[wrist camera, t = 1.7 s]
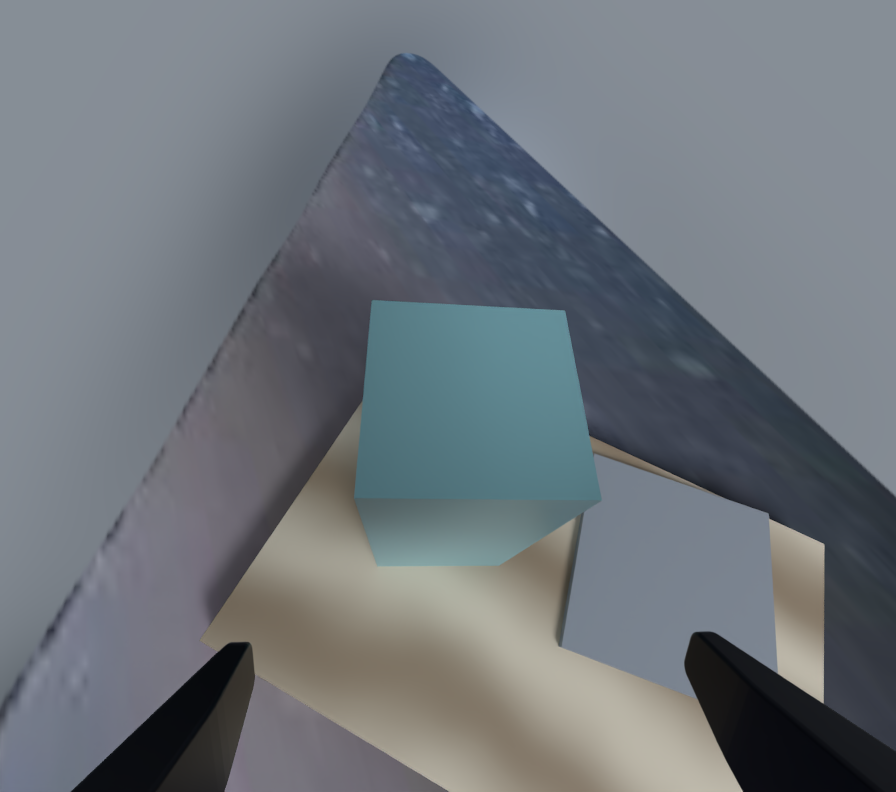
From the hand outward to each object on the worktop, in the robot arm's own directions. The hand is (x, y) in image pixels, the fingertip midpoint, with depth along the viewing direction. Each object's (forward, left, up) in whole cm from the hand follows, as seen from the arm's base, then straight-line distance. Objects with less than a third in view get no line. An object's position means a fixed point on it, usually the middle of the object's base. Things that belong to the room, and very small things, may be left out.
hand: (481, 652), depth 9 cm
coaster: (+7, -9, -10) cm, 15 cm away
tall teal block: (+5, +2, -10) cm, 11 cm away
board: (+4, -4, -12) cm, 13 cm away
